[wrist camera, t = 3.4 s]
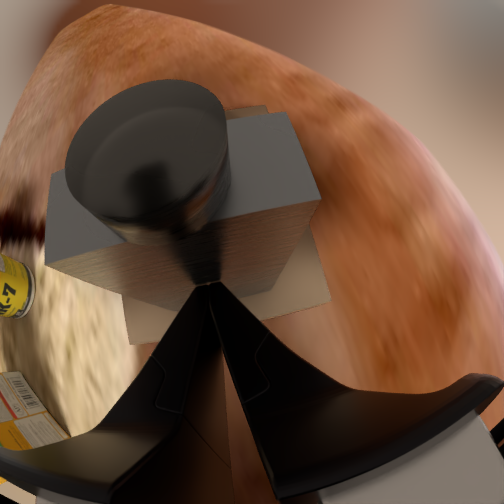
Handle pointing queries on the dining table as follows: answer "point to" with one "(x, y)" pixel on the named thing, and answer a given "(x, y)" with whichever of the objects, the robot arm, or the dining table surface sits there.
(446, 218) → the dining table surface
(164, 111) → the grey piece
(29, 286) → the supplement bottle
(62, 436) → the crayon box
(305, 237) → the board
